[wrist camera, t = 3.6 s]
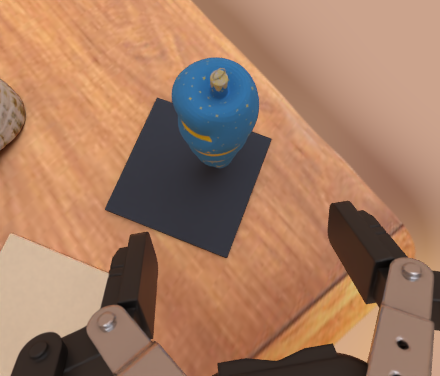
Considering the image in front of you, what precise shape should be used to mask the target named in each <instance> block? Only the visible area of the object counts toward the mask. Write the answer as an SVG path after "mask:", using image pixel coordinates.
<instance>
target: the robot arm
mask: <svg viewBox="0 0 440 376" xmlns="http://www.w3.org/2000/svg"><path fill="white" fill-rule="evenodd" d="M328 238H329V241H330V243H331V245H332V247H333V249H334V250H335V252H336V254H337V256H338V257H339V259H340V261H341V262H342V264H343V266H344V267H345V269H346V271H347V273H348V274H349V276H350V278H351V279H352V281H353V283H354V285H355V286H356V288H357V290H358V291H359V293H360V295H361V296H362V298H363V300H364V302H365V303H366V304H370V303H377V305H378V306H379V312H378V317H377V321H376V325H375V330H374V335H373V339H372V343H371V348H370V352H369V357H368V361H367V363H366V362H364V361H363V360H360V359H358V358H356V357H353V356H350V355H346V354H341V353H336V351H335V348H334V346H333V344H327V345H321V346H315V347H309V348H304V349H302V350H300V351H298V352H296V353H294V354H292V355H289V356H287V357H285V358H283V359H281V360H278V361H270V360H259V359H248V358H245V359H239V360H233V361H227V362H221V363H218V373H216V374H214V375H212V376H431V369H432V355H433V340H434V330H439V331H440V272H438V271H432V270H431V269H430V268H429V267H428V266H427V265H426V264H424V263H423V262H421V261H419V260H416V259H413V258H408V257H407V256H406V255H405V253H404V252H403V251H402V250H401V249H400V247H399V246H398V245H397V244H396V243H395V241H394V240H393V239H392V238H391V237H390V235H389V234H388V233H386V231H385V230H384V228H383V227H381V225H380V224H379V222H378V221H377V220H376V219H375V218H374V217H373V216H372V215H370V214H368V213H367V212H365V211H363V210H361V211H357V210H356V208H355V207H354V206H353V204H352V203H351V202H350V201H343V202H337V203H332V204H331V205H330V209H329V220H328ZM108 276H109V277H108V279H107V283H106V287H105V291H104V295H103V299H102V304H101V307H100V309H99V310H98V311H97V312H95V313H94V314H93V315H92V317H91V318H90V319H89V321H88V323H87V325H86V326H85V327H83V328H81V329H79V330H77V331H75V332H73V333H71V334H68V335H66V336H64V337H62V338H61V337H60V335H58V334H57V333H55V332H45V333H42V334H40V335H37V336H36V337H34V338H33V339H31V340H30V341H29V342H27V344H26V345H25V346H24V347H23V348H22V349H21V351H20V353H19V355H18V357H17V360H16V362H15V365H14V368H13V370H12V373H11V376H186V374H185V373H184V372H183V371H182V370H181V369H180V368H179V366H178V365H177V364H176V363H175V362H174V361H173V359H172V358H171V357H170V356H169V355H168V354H167V353H166V351H165V350H164V349H163V348H162V347H161V346H160V345H159V344H158V343H157V342H156V341H154V342H152V341H151V340H150V339H153V333H154V319H155V305H156V292H157V278H158V262H157V257H156V254H155V251H154V247H153V244H152V241H151V238H150V234H149V232H143V233H137V234H131V235H130V238H129V243H128V247H124V248H119V250H118V251H117V252H116V254H115V255H114V257H113V258H112V263H111V267H110V271H109V275H108Z"/></svg>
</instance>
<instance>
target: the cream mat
mask: <svg viewBox="0 0 440 376" xmlns="http://www.w3.org/2000/svg"><path fill="white" fill-rule="evenodd" d="M108 275H109V273H107V272H105V271H103V270H100V269H98V268H95V267H93V266H91V265H88V264H86V263H83V262H81V261H79V260H76V259H74V258H71V257H69V256H66V255H64V254H62V253H59V252H57V251H54V250H52V249H50V248H47V247H45V246H42V245H40V244H38V243H35V242H33V241H30V240H28V239H26V238H23V237H21V236H18V235H16V234H13V233H10V235H9V237H8V239H7V241H6V242H5V244H4V246H3V248H2V250H1V252H0V376H11V373H12V370H13V368H14V365H15V362H16V360H17V357H18V355H19V353H20V351H21V349H22V348H23V347H24V346H25V345H26V344H27V342H29V341H30V340H31V339H33V338H34V337H36V336H37V335H40V334H42V333H45V332H55V333H57V334H58V335H60V337H61V338H62V337H64V336H66V335H68V334H71V333H73V332H75V331H77V330H79V329H81V328H83V327H85V326H86V325H87V323H88V321H89V319H90V318H91V317H92V315H93V314H94V313H95V312H97V311H98V310H99V309H100V307H101V304H102V299H103V295H104V291H105V287H106V283H107V279H108V277H109V276H108Z"/></svg>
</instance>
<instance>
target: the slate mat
mask: <svg viewBox="0 0 440 376" xmlns="http://www.w3.org/2000/svg"><path fill="white" fill-rule="evenodd" d="M271 140H272V139H271V138H268V137H265V136H262V135H260V134H257V133H254V132H251V133H250V135H249V136H248V138H247V140H246V143H245V144H244V146H243V147H242V148H241V149H240V150H239V151H238V152H237V154H236V155H235V157H234V158H233V159H232V161H231V163H230V164H229V165H227V166H226V167H224V168H216V167H213V166H208V165H206V164H204V163H203V162H201V161H200V159H199V158H198V157H197V156H196V155H195V154H194V153H193V152H192V151H191V149H190V147H189V145H188V144H187V142H186V141H185V140H184V139H183V137H182V135H181V133H180V131H179V127H178V114H177V113H176V111H175V108H174V106H173V103H171V102H168V101H165V100H162V99H160V98H157V99H156V101H155V103H154V105H153V108H152V110H151V112H150V114H149V116H148V118H147V120H146V122H145V125H144V127H143V129H142V131H141V133H140V135H139V137H138V140H137V142H136V144H135V146H134V148H133V150H132V152H131V154H130V157H129V159H128V161H127V163H126V165H125V167H124V169H123V171H122V174H121V176H120V178H119V180H118V182H117V184H116V186H115V189H114V191H113V193H112V195H111V197H110V199H109V201H108V203H107V206H106V208H105V210H107V211H109V212H112V213H114V214H117V215H119V216H122V217H124V218H127V219H129V220H132V221H135V222H137V223H140V224H142V225H145V226H147V227H150V228H152V229H155V230H157V231H160V232H162V233H165V234H167V235H170V236H172V237H175V238H177V239H180V240H182V241H185V242H187V243H190V244H192V245H195V246H197V247H200V248H202V249H205V250H207V251H210V252H212V253H215V254H218V255H220V256H223V257H225V258H227V257H228V254H229V251H230V249H231V246H232V243H233V241H234V238H235V235H236V233H237V230H238V227H239V225H240V222H241V219H242V217H243V214H244V211H245V209H246V206H247V203H248V201H249V198H250V195H251V193H252V190H253V187H254V185H255V182H256V179H257V177H258V174H259V171H260V169H261V166H262V163H263V161H264V158H265V156H266V153H267V150H268V148H269V145H270V142H271Z"/></svg>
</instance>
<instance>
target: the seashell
mask: <svg viewBox="0 0 440 376" xmlns="http://www.w3.org/2000/svg"><path fill="white" fill-rule="evenodd" d="M24 122H25V111H24V108H23V103H22V100H21V98H20V97H19V96H18V95H17V93H16V92H15V91H14V90H13V89H12V88H11V87H10V86H9V85H8V84H7V83H6V82H4V81H3V80H2V79H0V150H1V149H3V148H4V147H5V146H6V145H7V144H9V143H10V142H11V141H12V140H13V139H14V138H15V137H16V136H17V135H18V134H19V132H20V131H21V129H22V127H23V124H24Z"/></svg>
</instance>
